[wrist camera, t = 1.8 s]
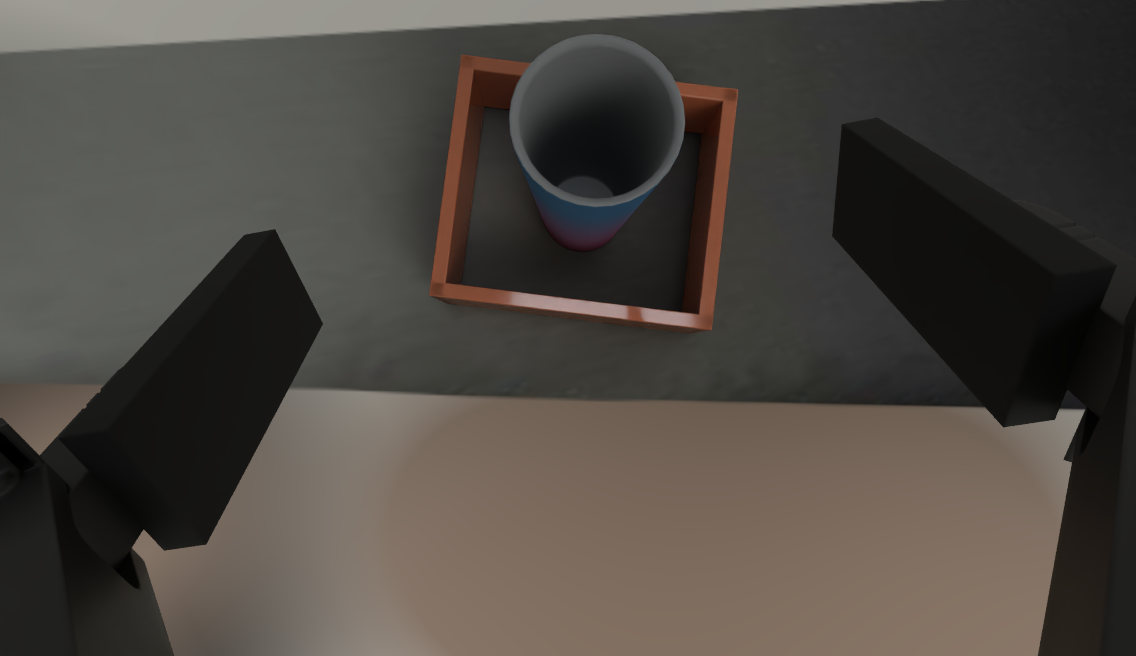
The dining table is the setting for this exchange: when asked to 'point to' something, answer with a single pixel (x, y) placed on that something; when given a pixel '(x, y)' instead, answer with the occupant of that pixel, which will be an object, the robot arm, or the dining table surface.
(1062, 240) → the robot arm
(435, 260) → the rectangular frame
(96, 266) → the dining table surface
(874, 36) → the dining table surface
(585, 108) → the cup
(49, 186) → the dining table surface
